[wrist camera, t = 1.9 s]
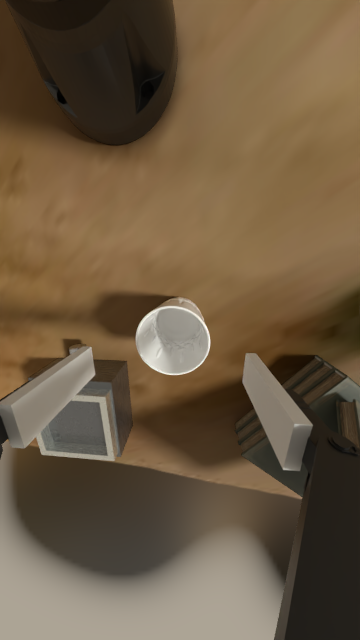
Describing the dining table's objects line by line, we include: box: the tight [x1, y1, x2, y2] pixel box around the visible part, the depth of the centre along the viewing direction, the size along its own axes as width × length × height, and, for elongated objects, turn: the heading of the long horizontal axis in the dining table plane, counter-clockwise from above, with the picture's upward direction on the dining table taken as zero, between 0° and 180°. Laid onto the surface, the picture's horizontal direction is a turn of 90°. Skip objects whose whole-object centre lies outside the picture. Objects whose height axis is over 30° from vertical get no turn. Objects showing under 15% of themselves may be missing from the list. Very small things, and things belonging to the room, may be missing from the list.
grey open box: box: [28, 344, 133, 461], centre depth 28 cm, size 19×13×8 cm
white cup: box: [136, 297, 210, 375], centre depth 22 cm, size 8×8×10 cm
